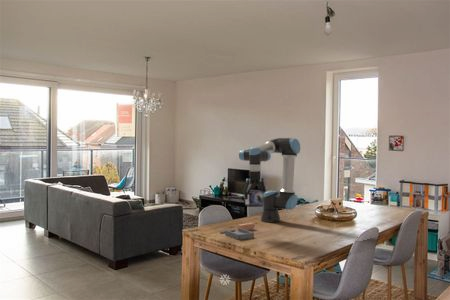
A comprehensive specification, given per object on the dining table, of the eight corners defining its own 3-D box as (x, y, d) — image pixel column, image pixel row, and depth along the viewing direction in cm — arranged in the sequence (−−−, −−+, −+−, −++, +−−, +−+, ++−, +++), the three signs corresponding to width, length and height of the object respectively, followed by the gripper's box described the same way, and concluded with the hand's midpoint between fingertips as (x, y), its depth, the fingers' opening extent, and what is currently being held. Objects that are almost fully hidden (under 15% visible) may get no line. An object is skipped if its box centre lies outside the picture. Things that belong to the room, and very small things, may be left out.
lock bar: (252, 228, 277) (252, 222, 277) (254, 228, 275) (254, 223, 275) (237, 230, 270) (237, 224, 269) (240, 231, 267) (240, 225, 267)
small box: (248, 207, 255) (248, 191, 255) (245, 205, 261) (245, 190, 261) (263, 206, 258) (263, 190, 258) (259, 205, 264) (260, 189, 264)
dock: (234, 230, 270) (234, 226, 270) (253, 237, 253) (253, 232, 253) (219, 233, 263) (219, 228, 263) (239, 240, 246) (239, 235, 246)
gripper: (264, 169, 269) (263, 201, 270) (237, 171, 255) (236, 204, 255) (271, 170, 263) (271, 202, 264) (244, 171, 249) (243, 205, 249)
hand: (254, 203), depth 260 cm, fingers closed on small box, 11 cm apart
